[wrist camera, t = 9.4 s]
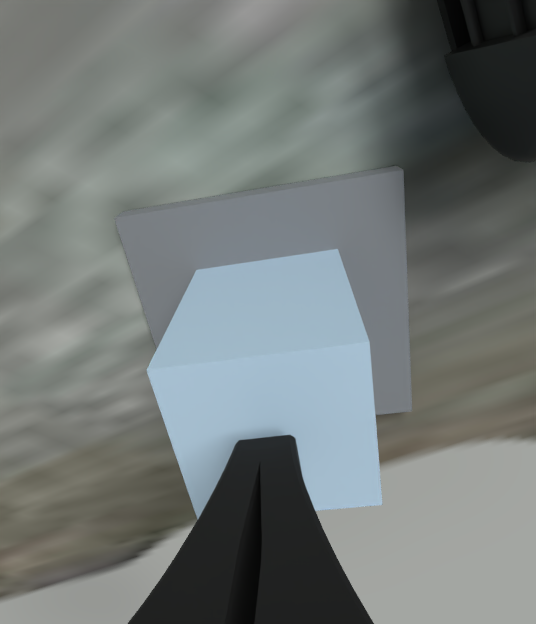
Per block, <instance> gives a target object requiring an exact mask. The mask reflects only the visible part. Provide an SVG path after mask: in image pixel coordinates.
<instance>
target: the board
mask: <svg viewBox="0 0 536 624" xmlns="http://www.w3.org/2000/svg"><path fill="white" fill-rule="evenodd" d="M114 219H115V223H116V226H117V229H118V232H119V235H120V238H121V241H122V244H123V247H124V250H125V253H126V256H127V260H128V263H129V266H130V269H131V272H132V275H133V278H134V281H135V284H136V287H137V290H138V293H139V297H140V300H141V303H142V306H143V309H144V312H145V315H146V318H147V321H148V324H149V327H150V331H151V334H152V337H153V340H154V343H155V346H156V349H157V348H158V346H159V344H160V342H161V340H162V338H163V336H164V334H165V332H166V330H167V328H168V326H169V324H170V322H171V320H172V318H173V316H174V314H175V312H176V310H177V308H178V306H179V304H180V302H181V300H182V298H183V296H184V294H185V292H186V290H187V288H188V286H189V284H190V282H191V280H192V278H193V276H194V274H195V272H196V270H199V269H206V268H213V267H220V266H226V265H233V264H240V263H246V262H253V261H260V260H266V259H273V258H280V257H287V256H293V255H300V254H307V253H313V252H320V251H327V250H334V249H338V251H339V254H340V257H341V260H342V263H343V266H344V269H345V272H346V274H347V277H348V280H349V283H350V286H351V289H352V292H353V295H354V298H355V301H356V304H357V307H358V310H359V313H360V315H361V318H362V321H363V324H364V327H365V330H366V333H367V336H368V339H369V342H370V354H371V367H372V379H373V392H374V405H375V415H381V414H390V413H399V412H408V411H412V397H411V368H410V340H409V312H408V284H407V255H406V227H405V199H404V171H403V169H401V168H399V167H398V166H391V167H385V168H379V169H373V170H367V171H362V172H356V173H350V174H344V175H338V176H332V177H326V178H320V179H314V180H308V181H302V182H296V183H290V184H284V185H278V186H272V187H266V188H260V189H254V190H248V191H242V192H236V193H230V194H224V195H218V196H212V197H206V198H200V199H194V200H188V201H182V202H176V203H171V204H165V205H159V206H153V207H147V208H141V209H135V210H129V211H123V212H122V213H120V214H119V215H118V216H116V217H115V218H114Z"/></svg>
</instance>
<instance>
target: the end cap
mask: <svg viewBox="0 0 536 624" xmlns="http://www.w3.org/2000/svg"><path fill="white" fill-rule="evenodd" d="M437 2H438V5H439V9H440V12H441V16H442V19H443V23H444V27H445V30H446V34H447V37H448V41H449V44H450V47H451V50H452V51H451V52H449V53H448V54H446V55H445V56H444V57H445V60H446V63H447V66H448V69H449V73H450V75H451V78H452V81H453V83H454V86H455V88H456V91H457V93H458V95H459V97H460V99H461V102H462V104H463V106H464V108H465V110H466V111H467V113H468V115H469V117H470V118H471V120H472V122H473V123H474V125H475V126H476V128H477V129H478V131H479V132H480V133H481V135H482V136H483V137H484V138H485V139H486V140H487V142H488V143H489V144H490V145H491V146H492V147H493V148H494V149H496V150H497V151H498V152H499V153H501V154H502V155H503V156H506V157H508V158H510V159H512V160H514V161H520V162H532V161H536V0H437Z"/></svg>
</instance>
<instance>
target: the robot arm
mask: <svg viewBox="0 0 536 624" xmlns="http://www.w3.org/2000/svg"><path fill="white" fill-rule="evenodd" d="M128 624H374V623H373V622H372V620H371V618H370V616H369V615H368V613H367V611H366V610H365V608H364V606H363V605H362V603H361V601H360V599H359V598H358V596H357V594H356V592H355V591H354V589H353V587H352V585H351V584H350V582H349V580H348V578H347V576H346V574H345V572H344V571H343V569H342V567H341V565H340V563H339V561H338V559H337V557H336V555H335V553H334V551H333V549H332V547H331V545H330V543H329V541H328V539H327V536H326V534H325V532H324V530H323V528H322V526H321V523H320V521H319V519H318V516H317V514H316V512H315V509H314V507H313V504H312V501H311V499H310V496H309V494H308V491H307V489H306V486H305V483H304V480H303V476H302V471H301V465H300V460H299V455H298V449H297V444H296V438H295V437H293V436H291V435H282V436H273V437H264V438H254V439H245V440H239V441H238V442H237V443H236V444H235V446H234V449H233V451H232V453H231V456H230V458H229V460H228V462H227V464H226V467H225V469H224V471H223V473H222V475H221V477H220V479H219V481H218V483H217V485H216V487H215V489H214V491H213V493H212V495H211V496H210V498H209V500H208V502H207V504H206V506H205V508H204V509H203V511H202V513H201V515H200V517H199V519H198V520H197V522H196V524H195V525H194V527H193V529H192V531H191V533H190V534H189V535H188V537H187V539H186V540H185V542H184V543H183V545H182V547H181V548H180V550H179V552H178V553H177V555H176V557H175V558H174V560H173V561H172V563H171V564H170V566H169V567H168V569H167V570H166V572H165V573H164V575H163V576H162V578H161V579H160V581H159V582H158V584H157V585H156V586H155V588H154V589H153V590H152V592H151V593H150V595H149V596H148V598H147V599H146V600H145V602H144V603H143V604H142V606H141V607H140V608H139V610H138V611H137V612H136V613H135V615H134V616H133V617H132V619H131V620H130V621H129V623H128Z"/></svg>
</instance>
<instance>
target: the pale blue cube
mask: <svg viewBox="0 0 536 624" xmlns="http://www.w3.org/2000/svg"><path fill="white" fill-rule="evenodd" d="M147 373H148V376H149V379H150V382H151V385H152V388H153V390H154V393H155V396H156V399H157V402H158V405H159V408H160V411H161V414H162V417H163V420H164V423H165V425H166V428H167V431H168V434H169V437H170V440H171V443H172V446H173V449H174V452H175V455H176V458H177V461H178V463H179V466H180V469H181V472H182V475H183V478H184V481H185V484H186V487H187V490H188V493H189V496H190V499H191V501H192V504H193V507H194V510H195V513H196V516H197V519H199V517H200V515H201V513H202V511H203V509H204V508H205V506H206V504H207V502H208V500H209V498H210V496H211V495H212V493H213V491H214V489H215V487H216V485H217V483H218V481H219V479H220V477H221V475H222V473H223V471H224V469H225V467H226V464H227V462H228V460H229V458H230V456H231V453H232V451H233V449H234V446H235V444H236V443H237V442H238V441H239V440H245V439H254V438H264V437H273V436H282V435H291V436H293V437H295V438H296V444H297V449H298V455H299V460H300V465H301V471H302V476H303V480H304V483H305V486H306V489H307V491H308V494H309V496H310V499H311V501H312V504H313V507H314V509H315V511H319V510H330V509H341V508H352V507H364V506H375V505H382V493H381V480H380V468H379V455H378V443H377V430H376V417H375V405H374V392H373V379H372V367H371V354H370V342H369V339H368V336H367V333H366V330H365V327H364V324H363V321H362V318H361V315H360V313H359V310H358V307H357V304H356V301H355V298H354V295H353V292H352V289H351V286H350V283H349V280H348V277H347V274H346V272H345V269H344V266H343V263H342V260H341V257H340V254H339V251H338V249H334V250H327V251H320V252H313V253H307V254H300V255H293V256H287V257H280V258H273V259H266V260H260V261H253V262H246V263H240V264H233V265H226V266H220V267H213V268H206V269H199V270H196V272H195V274H194V276H193V278H192V280H191V282H190V284H189V286H188V288H187V290H186V292H185V294H184V296H183V298H182V300H181V302H180V304H179V306H178V308H177V310H176V312H175V314H174V316H173V318H172V320H171V322H170V324H169V326H168V328H167V330H166V332H165V334H164V336H163V338H162V340H161V342H160V344H159V346H158V348H157V350H156V352H155V354H154V356H153V358H152V360H151V362H150V364H149V366H148V368H147Z"/></svg>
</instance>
